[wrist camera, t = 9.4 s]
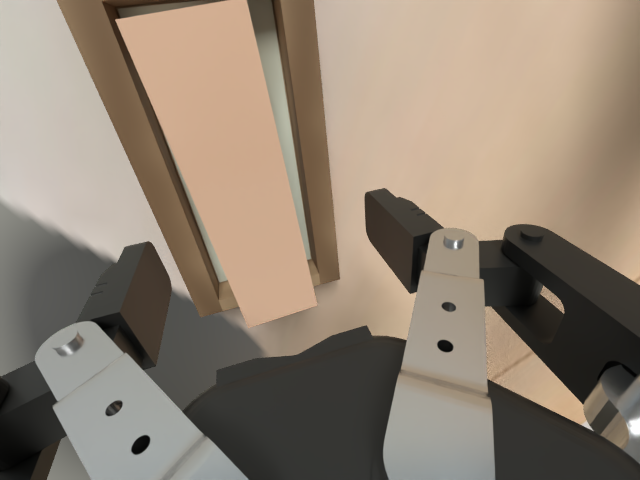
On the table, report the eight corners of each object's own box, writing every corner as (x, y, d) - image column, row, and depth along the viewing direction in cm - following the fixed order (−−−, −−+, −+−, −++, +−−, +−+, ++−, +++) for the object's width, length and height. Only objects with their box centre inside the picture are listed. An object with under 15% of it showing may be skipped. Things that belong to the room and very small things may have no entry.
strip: (236, 15, 15) (246, -3, 10) (295, 249, 23) (317, 305, 18) (150, 30, 14) (115, 19, 9) (241, 265, 22) (248, 328, 17)
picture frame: (294, -34, 15) (309, -50, 13) (327, 256, 25) (339, 278, 23) (74, -16, 14) (43, -31, 11) (202, 289, 23) (200, 317, 21)
